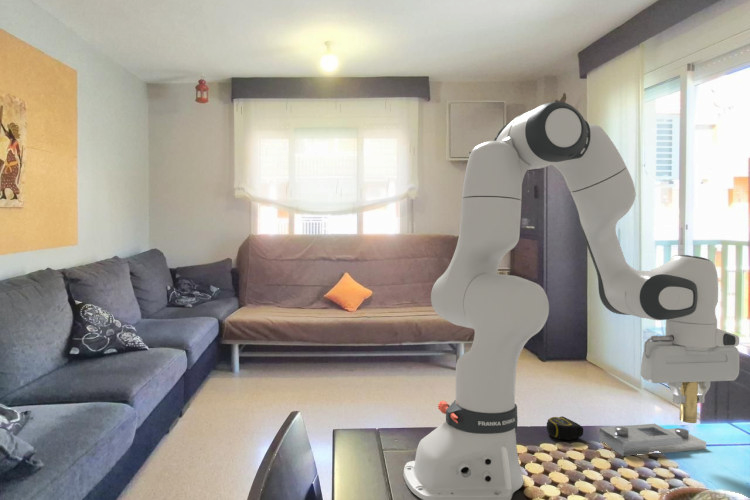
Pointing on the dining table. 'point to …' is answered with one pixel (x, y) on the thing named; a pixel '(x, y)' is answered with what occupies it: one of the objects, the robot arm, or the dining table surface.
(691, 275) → the robot arm
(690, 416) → the pin
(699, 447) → the gray slab
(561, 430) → the tape measure
